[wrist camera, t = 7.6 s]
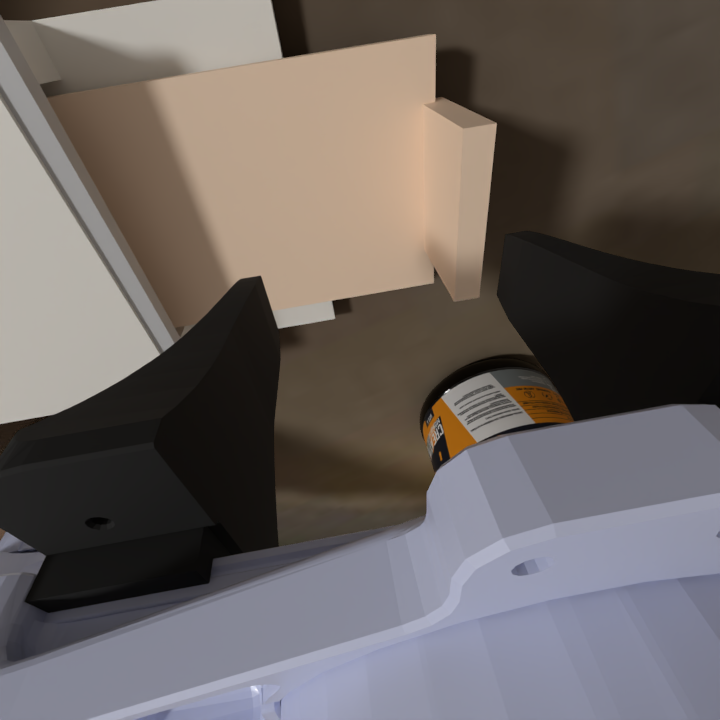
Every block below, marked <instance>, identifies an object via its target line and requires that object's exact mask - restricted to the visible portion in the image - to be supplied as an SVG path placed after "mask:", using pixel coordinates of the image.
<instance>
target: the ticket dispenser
mask: <svg viewBox="0 0 720 720" xmlns="http://www.w3.org/2000/svg"><path fill="white" fill-rule="evenodd" d="M280 58H283V53H282V48H281V43H280V38H279V33H278V28H277V23H276V18H275V13H274V8H273V3H272V0H157V1H151V2H145V3H138V4H132V5H126V6H120V7H114V8H107V9H101V10H95V11H89V12H83V13H76V14H70V15H64V16H58V17H52V18H45V19H39V20H33V21H19V20H3V18H2V17H1V15H0V424H3V423H9V422H14V421H20V420H26V419H32V418H37V417H43V416H49V415H54V414H57V413H59V412H61V411H63V410H66V409H68V408H70V407H72V406H74V405H76V404H78V403H80V402H82V401H84V400H86V399H88V398H90V397H92V396H94V395H96V394H98V393H99V392H101V391H103V390H105V389H107V388H109V387H110V386H112V385H114V384H116V383H117V382H119V381H121V380H122V379H124V378H126V377H127V376H129V375H130V374H132V373H133V372H135V371H136V370H138V369H140V368H141V367H143V366H144V365H146V364H147V363H149V362H150V361H152V360H153V359H155V358H156V357H157V356H159V355H160V354H161V353H163V352H164V351H165V350H167V349H168V348H169V347H171V346H172V345H173V344H174V343H176V342H177V341H178V340H179V339H180V338H182V337H183V336H184V335H185V334H186V333H187V332H188V331H189V330H190V329H191V328H192V327H193V326H194V325H196V324H194V325H188V326H182V327H177V328H175V327H174V326H173V324H172V322H171V320H170V318H169V317H168V315H167V313H166V311H165V309H164V308H163V306H162V304H161V302H160V300H159V299H158V297H157V295H156V293H155V292H154V290H153V288H152V286H151V284H150V283H149V281H148V279H147V277H146V275H145V274H144V272H143V270H142V268H141V266H140V265H139V263H138V261H137V259H136V257H135V256H134V254H133V252H132V250H131V248H130V247H129V245H128V243H127V241H126V239H125V238H124V236H123V234H122V232H121V230H120V229H119V227H118V225H117V223H116V221H115V220H114V218H113V216H112V214H111V212H110V211H109V209H108V207H107V205H106V203H105V202H104V200H103V198H102V196H101V194H100V193H99V191H98V189H97V187H96V185H95V184H94V182H93V180H92V178H91V177H90V175H89V173H88V171H87V169H86V168H85V166H84V164H83V162H82V160H81V159H80V157H79V155H78V153H77V151H76V150H75V148H74V146H73V144H72V142H71V141H70V139H69V137H68V135H67V133H66V132H65V130H64V128H63V126H62V124H61V123H60V121H59V119H58V117H57V115H56V114H55V112H54V110H53V108H52V106H51V105H50V103H49V101H48V99H47V97H49V96H55V95H61V94H67V93H73V92H79V91H85V90H92V89H98V88H104V87H110V86H116V85H122V84H128V83H134V82H140V81H146V80H152V79H159V78H165V77H171V76H177V75H183V74H189V73H195V72H201V71H207V70H213V69H219V68H226V67H232V66H238V65H244V64H250V63H256V62H262V61H268V60H274V59H280ZM273 315H274V318H275V321H276V324H277V327H278V329H279V328H285V327H291V326H296V325H302V324H308V323H314V322H319V321H325V320H331V319H335V314H334V307H333V302H332V301H327V302H321V303H315V304H310V305H304V306H298V307H292V308H286V309H281V310H275V311H273Z"/></svg>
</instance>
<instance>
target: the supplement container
mask: <svg viewBox="0 0 720 720" xmlns="http://www.w3.org/2000/svg"><path fill="white" fill-rule="evenodd" d="M569 422H574V420H573V418H572V416H571V414H570V412H569V410H568V408H567V406H566V405H565V403H564V401H563V399H562V397H561V396H560V394H559V392H558V391H557V389H556V388H555V385H554V383H553V382H552V380H551V379H550V377H549V376H548V375H547V374H546V373H545V372H544V371H543V370H541V369H540V368H539V367H537V366H535V365H534V364H532V363H529V362H526V361H523V360H519V359H512V358H497V359H490V360H485V361H481V362H477V363H474V364H471V365H468V366H466V367H464V368H462V369H460V370H458V371H456V372H454V373H453V374H451V375H449V376H448V377H447V378H445V379H444V380H443V381H441V382H440V383H439V384H438V385H437V386H436V387H435V388H434V389H433V390H432V391H431V393H430V394H429V395H428V397H427V398H426V400H425V402H424V404H423V406H422V409H421V413H420V430H421V433H422V437H423V439H424V441H425V443H426V446H427V449H428V453H429V456H430V459H431V462H432V465H433V469H434V472H435V474H436V472H437V470H438V469H439V468H440V466H441V465H442V464H444V463H445V462H447V461H448V460H449V459H451V458H452V457H453V456H455V455H456V454H457V453H459V452H460V451H462V450H463V449H464V448H466V447H467V446H470V445H473V444H476V443H479V442H482V441H485V440H488V439H491V438H494V437H497V436H500V435H503V434H508V433H514V432H519V431H525V430H530V429H536V428H542V427H547V426H553V425H558V424H564V423H569Z"/></svg>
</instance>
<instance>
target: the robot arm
mask: <svg viewBox="0 0 720 720" xmlns="http://www.w3.org/2000/svg"><path fill="white" fill-rule="evenodd" d="M497 296H498V298H499V300H500V303H501V305H502V307H503V309H504V311H505V313H506V315H507V317H508V319H509V320H510V322H511V323H512V325H513V326H514V328H515V329H516V330H517V332H518V333H519V335H520V336H521V338H522V339H523V340H524V342H525V343H526V344H527V346H528V347H529V349H530V350H531V351H532V353H533V354H534V355H535V357H536V358H537V360H538V361H539V362H540V364H541V365H542V366H543V368H544V369H545V371H546V372H547V374H548V375H549V377H550V378H551V380H552V381H553V383H554V385H555V386H556V388H557V390H558V392H559V394H560V396H561V397H562V399H563V401H564V403H565V405H566V406H567V408H568V410H569V412H570V414H571V416H572V418H573V420H574V422H569V423H564V424H558V425H553V426H547V427H542V428H536V429H530V430H525V431H519V432H514V433H508V434H503V435H500V436H497V437H494V438H491V439H488V440H485V441H482V442H479V443H476V444H473V445H470V446H467V447H466V448H464V449H463V450H462V451H460V452H459V453H457V454H456V455H455V456H453V457H452V458H451V459H449V460H448V461H447V462H445V463H444V464H442V465H441V466H440V468H439V469H438V470H437V472H436V474H435V476H434V478H433V480H432V483H431V485H430V487H429V489H428V491H427V513H426V515H424V516H421V517H418V518H416V519H413V520H410V521H407V522H405V523H402V524H399V525H394V526H389V527H384V528H378V529H373V530H367V531H362V532H356V533H351V534H345V535H340V536H334V537H329V538H324V539H318V540H313V541H307V542H302V543H296V544H291V545H285V546H280V547H279V545H278V531H277V514H276V495H275V467H274V419H275V409H276V399H277V390H278V380H279V369H280V338H279V330H278V327H277V324H276V321H275V318H274V315H273V311H272V308H271V305H270V302H269V299H268V296H267V293H266V290H265V287H264V283H263V280H262V277H261V276H255V277H249V278H243V279H239V280H238V281H237V282H236V283H235V284H234V285H233V286H232V287H231V288H230V289H229V290H228V291H227V293H226V294H225V295H224V296H223V297H222V298H221V299H220V300H219V301H218V302H217V303H216V304H215V305H214V307H213V308H212V309H211V310H210V311H209V312H208V313H207V314H206V315H205V316H204V317H203V318H202V319H201V320H200V321H199V322H198V323H197V324H196V325H194V326H193V327H192V328H191V329H190V330H189V331H188V332H187V333H186V334H185V335H184V336H183V337H182V338H180V339H179V340H178V341H177V342H176V343H174V344H173V345H172V346H171V347H169V348H168V349H167V350H165V351H164V352H163V353H161V354H160V355H159V356H157V357H156V358H155V359H153V360H152V361H150V362H149V363H147V364H146V365H144V366H143V367H141V368H140V369H138V370H136V371H135V372H133V373H132V374H130V375H129V376H127V377H126V378H124V379H122V380H121V381H119V382H117V383H116V384H114V385H112V386H110V387H109V388H107V389H105V390H103V391H101V392H99V393H98V394H96V395H94V396H92V397H90V398H88V399H86V400H84V401H82V402H80V403H78V404H76V405H74V406H72V407H70V408H68V409H66V410H63V411H61V412H59V413H57V414H55V415H52V416H50V417H48V418H46V419H44V420H41V421H39V422H37V423H35V424H33V425H30V426H28V427H26V428H23V429H21V430H18V431H17V432H16V434H15V435H14V436H13V438H12V439H11V441H10V442H9V444H8V445H7V447H6V448H5V450H4V451H3V453H2V454H1V456H0V528H1V529H3V530H5V531H6V532H5V534H4V536H3V538H2V539H1V541H0V720H720V274H713V273H704V272H696V271H689V270H682V269H676V268H671V267H665V266H660V265H654V264H649V263H644V262H640V261H635V260H631V259H627V258H623V257H619V256H616V255H612V254H608V253H604V252H601V251H597V250H594V249H591V248H587V247H584V246H581V245H578V244H574V243H571V242H568V241H565V240H561V239H558V238H555V237H551V236H548V235H544V234H540V233H536V232H530V231H522V232H516V233H511V234H505V241H504V248H503V255H502V262H501V269H500V276H499V283H498V290H497Z"/></svg>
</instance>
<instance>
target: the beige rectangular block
mask: <svg viewBox="0 0 720 720" xmlns="http://www.w3.org/2000/svg"><path fill="white" fill-rule="evenodd" d="M435 81H436V34H427V35H421V36H414V37H408V38H402V39H396V40H390V41H384V42H378V43H372V44H366V45H360V46H354V47H347V48H341V49H335V50H329V51H323V52H317V53H311V54H305V55H299V56H293V57H286V58H280V59H274V60H268V61H262V62H256V63H250V64H244V65H238V66H232V67H226V68H219V69H213V70H207V71H201V72H195V73H189V74H183V75H177V76H171V77H165V78H159V79H152V80H146V81H140V82H134V83H128V84H122V85H116V86H110V87H104V88H98V89H92V90H85V91H79V92H73V93H67V94H61V95H55V96H49V97H47V99H48V101H49V103H50V105H51V106H52V108H53V110H54V112H55V114H56V115H57V117H58V119H59V121H60V123H61V124H62V126H63V128H64V130H65V132H66V133H67V135H68V137H69V139H70V141H71V142H72V144H73V146H74V148H75V150H76V151H77V153H78V155H79V157H80V159H81V160H82V162H83V164H84V166H85V168H86V169H87V171H88V173H89V175H90V177H91V178H92V180H93V182H94V184H95V185H96V187H97V189H98V191H99V193H100V194H101V196H102V198H103V200H104V202H105V203H106V205H107V207H108V209H109V211H110V212H111V214H112V216H113V218H114V220H115V221H116V223H117V225H118V227H119V229H120V230H121V232H122V234H123V236H124V238H125V239H126V241H127V243H128V245H129V247H130V248H131V250H132V252H133V254H134V256H135V257H136V259H137V261H138V263H139V265H140V266H141V268H142V270H143V272H144V274H145V275H146V277H147V279H148V281H149V283H150V284H151V286H152V288H153V290H154V292H155V293H156V295H157V297H158V299H159V300H160V302H161V304H162V306H163V308H164V309H165V311H166V313H167V315H168V317H169V318H170V320H171V322H172V324H173V326H174V327H175V328H177V327H182V326H188V325H194V324H197V323H198V322H199V321H200V320H201V319H202V318H203V317H204V316H205V315H206V314H207V313H208V312H209V311H210V310H211V309H212V308H213V307H214V305H215V304H216V303H217V302H218V301H219V300H220V299H221V298H222V297H223V296H224V295H225V294H226V293H227V291H228V290H229V289H230V288H231V287H232V286H233V285H234V284H235V283H236V282H237V281H238V280H239V279H243V278H249V277H255V276H261V277H262V280H263V283H264V287H265V290H266V293H267V296H268V299H269V302H270V305H271V308H272V311H275V310H281V309H286V308H292V307H298V306H304V305H310V304H315V303H321V302H327V301H333V300H338V299H344V298H350V297H356V296H362V295H367V294H373V293H379V292H385V291H390V290H396V289H402V288H408V287H414V286H419V285H425V284H431V283H434V267H435V269H436V271H437V273H438V274H439V276H440V278H441V279H442V281H443V283H444V285H445V286H446V288H447V290H448V292H449V293H450V295H451V297H452V299H453V300H454V302H456V301H462V300H468V299H473V298H479V294H480V284H481V275H482V265H483V255H484V245H485V235H486V225H487V216H488V206H489V196H490V186H491V176H492V167H493V157H494V147H495V137H496V127H497V123H496V122H494V121H491V120H489V119H487V118H485V117H483V116H481V115H479V114H477V113H475V112H473V111H470V110H468V109H466V108H464V107H462V106H460V105H458V104H456V103H454V102H452V101H450V100H447V99H445V98H443V97H439V98H435Z"/></svg>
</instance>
